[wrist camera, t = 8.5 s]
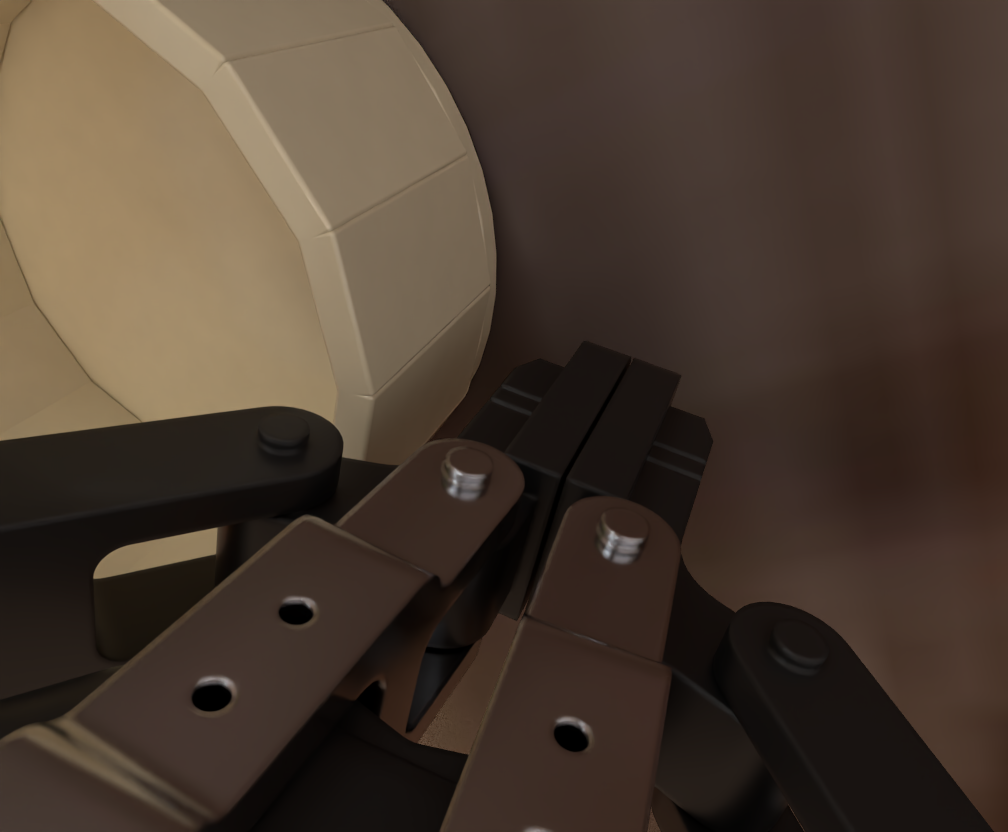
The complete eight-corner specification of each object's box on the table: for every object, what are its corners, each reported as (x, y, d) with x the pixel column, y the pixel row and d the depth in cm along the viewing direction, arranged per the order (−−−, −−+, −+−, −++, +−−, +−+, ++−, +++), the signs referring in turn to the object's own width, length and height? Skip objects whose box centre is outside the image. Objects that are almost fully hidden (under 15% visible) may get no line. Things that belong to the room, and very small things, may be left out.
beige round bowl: (-37, -168, 14) (-371, -204, 10) (565, 4, 12) (429, 39, 8) (16, 378, 19) (-189, 486, 15) (439, 554, 17) (322, 726, 14)
